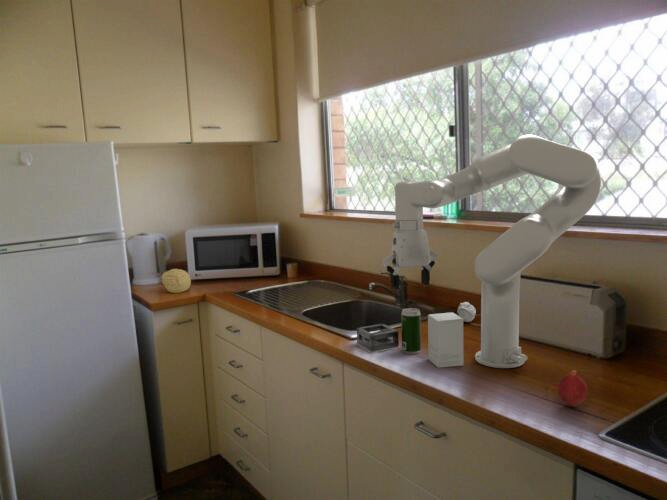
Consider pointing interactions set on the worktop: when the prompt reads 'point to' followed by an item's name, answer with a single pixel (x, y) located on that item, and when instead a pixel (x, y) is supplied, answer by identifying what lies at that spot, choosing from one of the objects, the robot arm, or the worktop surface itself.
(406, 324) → the beer can
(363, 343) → the collar stand
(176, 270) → the pale yellow bumpy ball
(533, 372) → the worktop surface
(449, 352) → the supplement box
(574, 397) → the onion
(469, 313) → the crumpled paper ball
